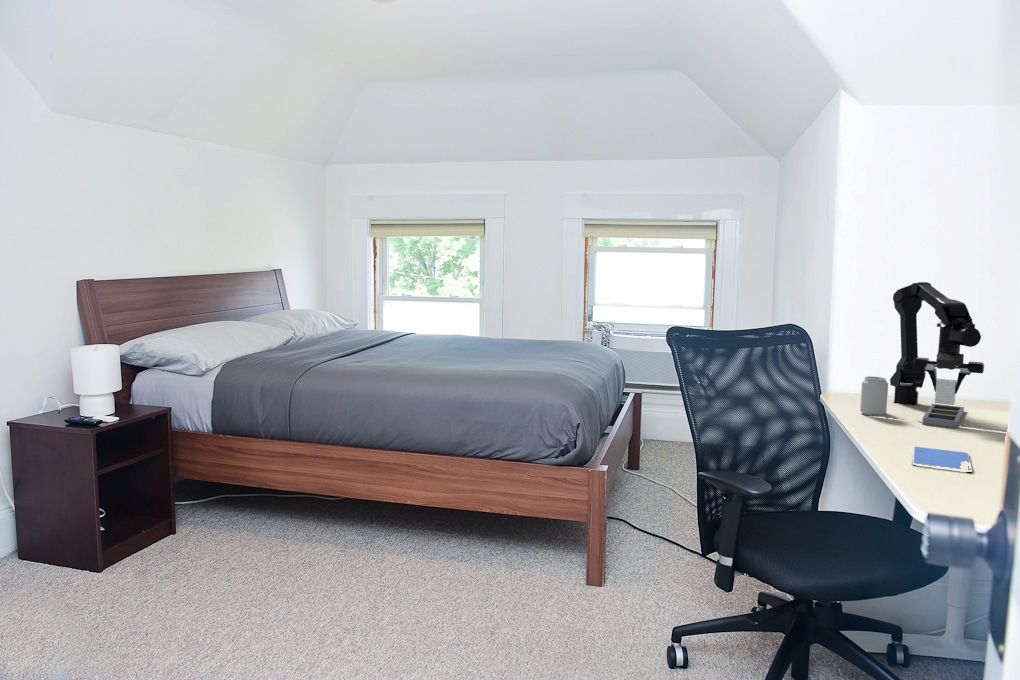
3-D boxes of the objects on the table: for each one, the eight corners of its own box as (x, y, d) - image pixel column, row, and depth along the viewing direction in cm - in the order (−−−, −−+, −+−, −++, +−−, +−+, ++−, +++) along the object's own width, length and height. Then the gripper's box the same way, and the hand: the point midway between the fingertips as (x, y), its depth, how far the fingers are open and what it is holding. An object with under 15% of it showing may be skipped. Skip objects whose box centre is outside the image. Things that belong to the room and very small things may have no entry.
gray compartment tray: (922, 424, 218) (922, 417, 218) (931, 409, 240) (932, 403, 240) (957, 428, 213) (957, 421, 213) (963, 413, 235) (964, 407, 235)
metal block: (934, 402, 226) (936, 380, 225) (936, 400, 230) (938, 378, 229) (953, 404, 223) (955, 382, 222) (954, 402, 227) (956, 380, 226)
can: (880, 412, 235) (882, 375, 234) (890, 417, 228) (892, 379, 227) (856, 411, 236) (858, 375, 235) (865, 416, 229) (867, 379, 227)
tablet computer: (912, 450, 190) (912, 445, 190) (969, 457, 184) (969, 451, 184) (911, 468, 174) (911, 462, 174) (973, 476, 168) (973, 470, 167)
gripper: (912, 342, 223) (908, 392, 225) (984, 347, 212) (979, 400, 214) (916, 339, 232) (912, 387, 234) (986, 344, 221) (981, 394, 223)
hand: (945, 392), depth 226 cm, fingers closed on metal block, 5 cm apart
